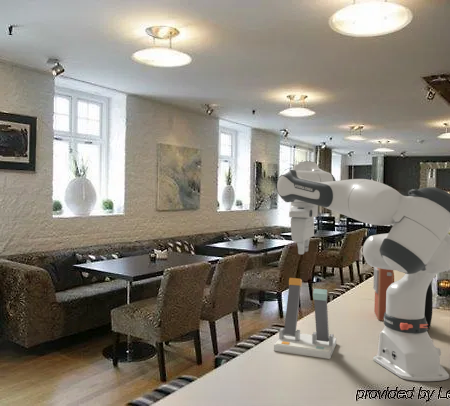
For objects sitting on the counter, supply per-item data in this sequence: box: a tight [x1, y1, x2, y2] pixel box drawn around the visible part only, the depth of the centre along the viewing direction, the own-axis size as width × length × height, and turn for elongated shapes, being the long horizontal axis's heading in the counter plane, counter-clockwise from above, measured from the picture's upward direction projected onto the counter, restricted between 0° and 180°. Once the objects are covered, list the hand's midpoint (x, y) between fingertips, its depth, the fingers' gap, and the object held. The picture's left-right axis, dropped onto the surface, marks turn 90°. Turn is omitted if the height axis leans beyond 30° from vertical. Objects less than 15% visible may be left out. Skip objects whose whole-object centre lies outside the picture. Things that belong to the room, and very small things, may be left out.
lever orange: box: [283, 277, 303, 337], centre depth 155 cm, size 2×4×20 cm, turn 69°
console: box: [273, 327, 337, 360], centre depth 150 cm, size 15×18×5 cm
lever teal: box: [312, 288, 330, 342], centre depth 144 cm, size 2×4×20 cm, turn 69°
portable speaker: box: [424, 281, 434, 332], centre depth 170 cm, size 9×9×20 cm
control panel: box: [372, 267, 395, 322], centre depth 188 cm, size 21×7×15 cm
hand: (303, 252), depth 150 cm, fingers open, 5 cm apart
